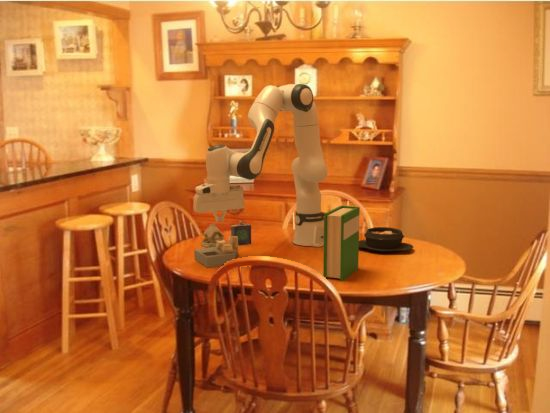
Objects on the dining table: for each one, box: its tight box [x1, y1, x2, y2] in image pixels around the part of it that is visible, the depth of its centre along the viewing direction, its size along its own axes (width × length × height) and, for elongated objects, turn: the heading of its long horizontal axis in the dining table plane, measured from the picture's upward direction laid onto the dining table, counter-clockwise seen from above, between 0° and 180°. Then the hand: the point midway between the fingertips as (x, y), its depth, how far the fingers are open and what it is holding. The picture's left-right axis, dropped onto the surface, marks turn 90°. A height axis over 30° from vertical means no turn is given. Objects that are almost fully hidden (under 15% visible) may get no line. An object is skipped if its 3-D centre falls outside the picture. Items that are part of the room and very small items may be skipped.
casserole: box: [359, 226, 414, 254], centre depth 248 cm, size 25×19×8 cm
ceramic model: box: [200, 223, 225, 248], centre depth 256 cm, size 14×11×10 cm
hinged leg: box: [216, 239, 233, 253], centre depth 233 cm, size 11×3×3 cm, turn 26°
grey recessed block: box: [193, 247, 236, 269], centre depth 231 cm, size 12×14×4 cm
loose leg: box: [228, 235, 239, 257], centre depth 239 cm, size 4×4×8 cm
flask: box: [230, 220, 252, 246], centre depth 258 cm, size 9×3×11 cm, turn 109°
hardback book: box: [322, 205, 361, 282], centre depth 213 cm, size 18×7×24 cm, turn 154°
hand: (219, 221), depth 228 cm, fingers closed
